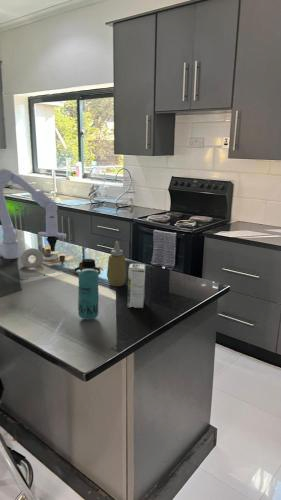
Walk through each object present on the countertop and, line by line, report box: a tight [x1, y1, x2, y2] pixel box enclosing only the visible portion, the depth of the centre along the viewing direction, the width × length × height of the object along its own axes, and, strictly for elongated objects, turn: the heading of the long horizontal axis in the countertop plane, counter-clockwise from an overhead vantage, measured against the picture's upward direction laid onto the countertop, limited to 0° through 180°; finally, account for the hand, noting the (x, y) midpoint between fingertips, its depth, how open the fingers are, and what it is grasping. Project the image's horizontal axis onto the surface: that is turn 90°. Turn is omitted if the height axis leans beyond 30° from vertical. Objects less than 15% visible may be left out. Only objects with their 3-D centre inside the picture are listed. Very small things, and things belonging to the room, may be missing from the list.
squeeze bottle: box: [106, 240, 127, 287], centre depth 152 cm, size 8×8×18 cm
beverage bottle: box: [77, 258, 100, 320], centre depth 118 cm, size 6×7×20 cm
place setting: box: [60, 255, 104, 276], centre depth 172 cm, size 18×20×6 cm
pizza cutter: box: [42, 245, 58, 261], centre depth 185 cm, size 15×10×4 cm, turn 11°
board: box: [29, 247, 81, 267], centre depth 185 cm, size 20×17×5 cm
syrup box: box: [126, 263, 146, 309], centre depth 132 cm, size 6×6×14 cm
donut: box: [20, 247, 43, 269], centre depth 170 cm, size 10×4×10 cm, turn 112°
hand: (52, 251), depth 190 cm, fingers closed
